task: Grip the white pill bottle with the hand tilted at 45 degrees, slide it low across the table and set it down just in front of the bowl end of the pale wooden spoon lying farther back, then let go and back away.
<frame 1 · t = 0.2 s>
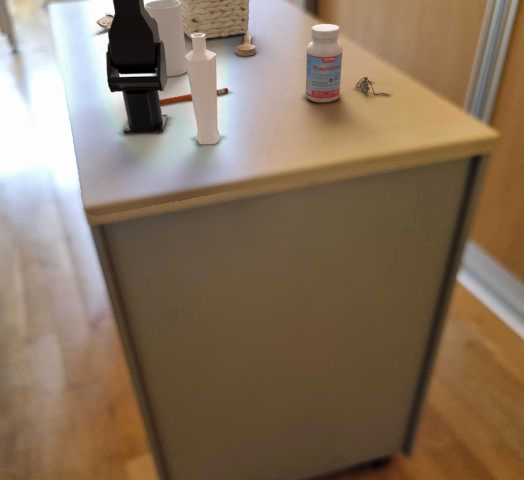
perfume bottle: (208, 140, 90), on the cabinet
basket: (209, 28, 138), on the cabinet
pendant: (370, 91, 104), on the cabinet
butterfly: (112, 26, 143), on the cabinet
mug: (171, 70, 116), on the cabinet
pill bottle: (322, 98, 102), on the cabinet
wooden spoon: (247, 46, 126), on the cabinet
pencil: (178, 102, 103), on the cabinet
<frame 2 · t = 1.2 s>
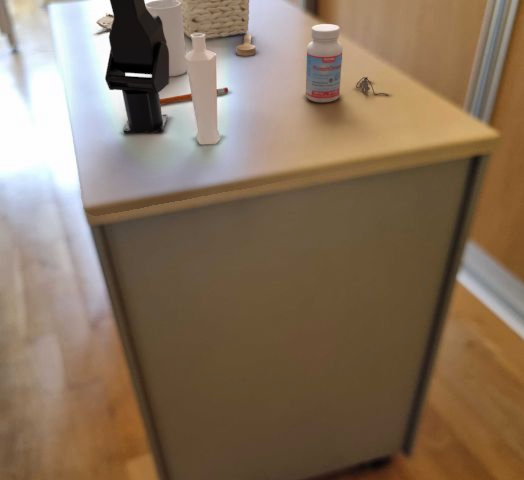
nothing on the cabinet moved.
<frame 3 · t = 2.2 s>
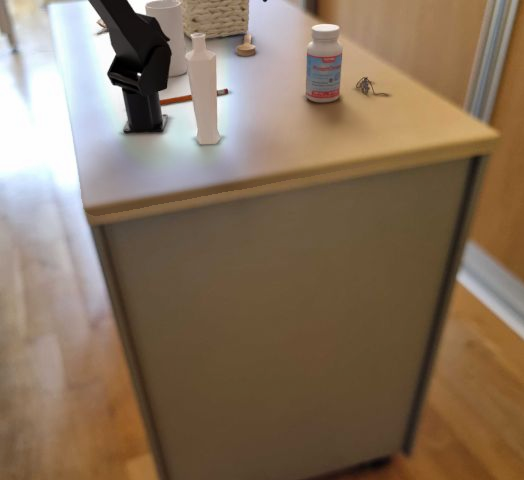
nothing on the cabinet moved.
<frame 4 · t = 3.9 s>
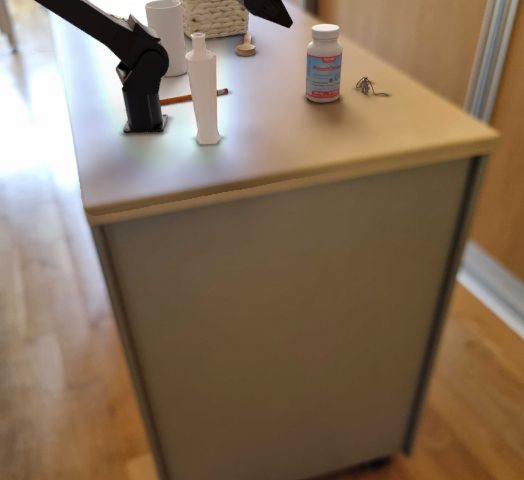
hand: (280, 18, 91), 13 cm above the cabinet, tool tilted 45°, fingers open, 9 cm apart
nothing on the cabinet moved.
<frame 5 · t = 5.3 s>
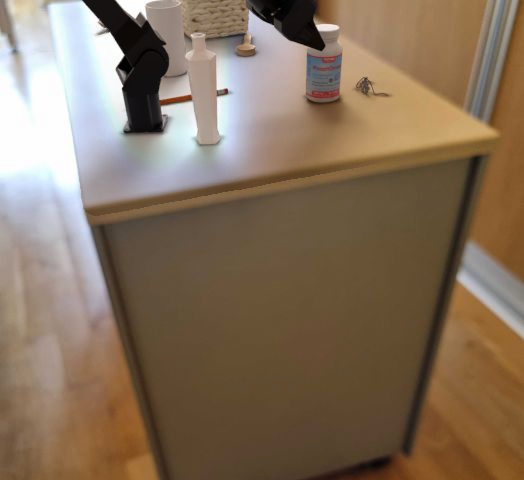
hand: (312, 41, 95), 9 cm above the cabinet, tool tilted 45°, fingers open, 9 cm apart
nothing on the cabinet moved.
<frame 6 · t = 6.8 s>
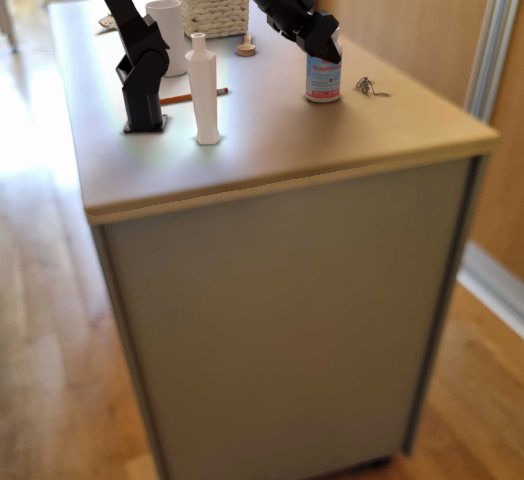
hand: (331, 56, 97), 7 cm above the cabinet, tool tilted 45°, fingers closed on pill bottle, 6 cm apart
pill bottle: (322, 98, 102), on the cabinet, touching gripper
everything else where it was.
when the fingers open (7 cm above the cabinet, at t = 13.7 s): pill bottle stays where it is, on the cabinet.
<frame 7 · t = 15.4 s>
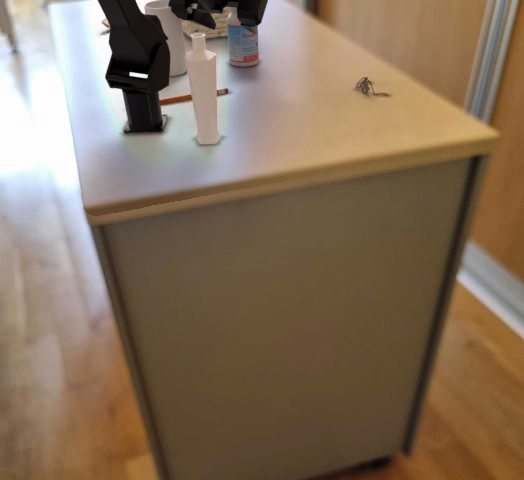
hand: (235, 29, 111), 7 cm above the cabinet, tool tilted 45°, fingers open, 9 cm apart
pill bottle: (244, 63, 118), on the cabinet
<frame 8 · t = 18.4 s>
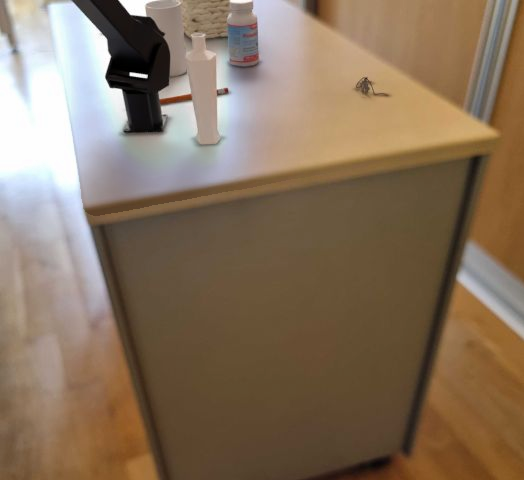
at the end: pill bottle inside the target area on the cabinet beside the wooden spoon (0.1 cm from its centre), on the cabinet; pill bottle tilted 0°; the gripper is holding nothing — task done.
